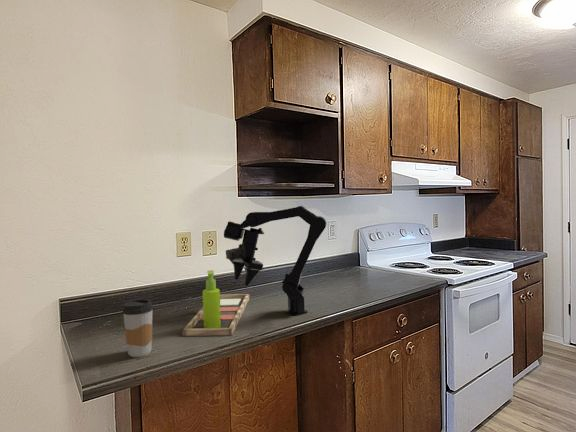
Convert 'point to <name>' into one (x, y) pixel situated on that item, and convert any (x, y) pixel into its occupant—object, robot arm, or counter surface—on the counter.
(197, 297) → the counter surface
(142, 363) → the counter surface
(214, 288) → the soap dispenser
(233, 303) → the pad
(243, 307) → the frame
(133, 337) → the coffee cup
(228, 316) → the mats
